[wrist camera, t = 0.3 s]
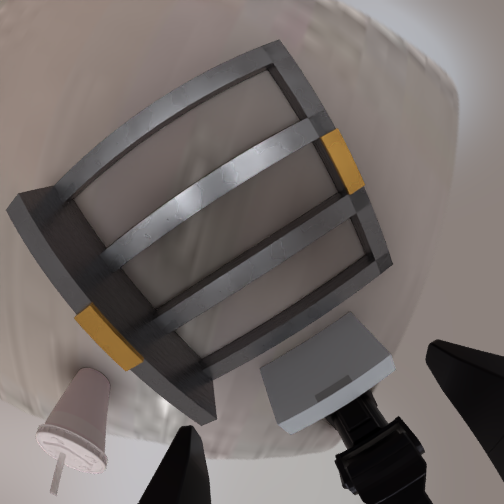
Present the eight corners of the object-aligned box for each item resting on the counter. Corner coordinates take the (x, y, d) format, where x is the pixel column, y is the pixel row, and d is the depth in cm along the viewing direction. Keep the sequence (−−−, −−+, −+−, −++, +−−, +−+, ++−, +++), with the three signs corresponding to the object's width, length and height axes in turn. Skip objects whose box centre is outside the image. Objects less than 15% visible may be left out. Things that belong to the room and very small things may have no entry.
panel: (357, 327, 25) (395, 370, 18) (271, 381, 25) (291, 435, 18) (349, 310, 24) (390, 353, 17) (259, 367, 24) (277, 424, 17)
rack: (383, 258, 23) (429, 286, 17) (198, 376, 23) (201, 429, 17) (274, 47, 16) (303, 6, 10) (51, 196, 16) (1, 211, 10)
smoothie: (73, 346, 20) (19, 465, 7) (131, 378, 22) (110, 508, 9) (61, 381, 21) (22, 484, 8) (112, 409, 23) (93, 517, 10)
